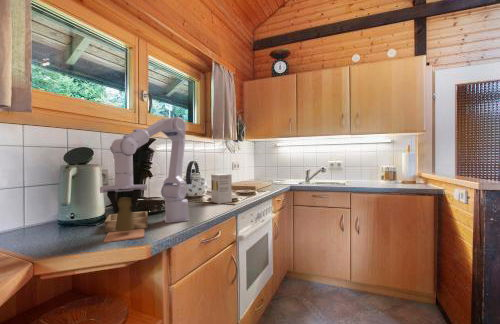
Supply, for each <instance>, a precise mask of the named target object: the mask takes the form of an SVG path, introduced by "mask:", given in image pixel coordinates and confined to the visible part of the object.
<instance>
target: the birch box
mask: <svg viewBox="0 0 500 324" xmlns="http://www.w3.org/2000/svg"><path fill="white" fill-rule="evenodd" d="M117 214H118V213H114V214H113V213H112V214H111V213H110V214H108V216H107V217H106V219H105V221H104V233H106V234H107V233H110V232H117V231H116V230H115V228H116V221H117ZM132 214H133V221H134V229H133V230H136V229H148V228H149V222H148V221H149V219H148V218H149V216H148V210H147V211H146V210H145V211H135V212H133V211H132Z"/></svg>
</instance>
